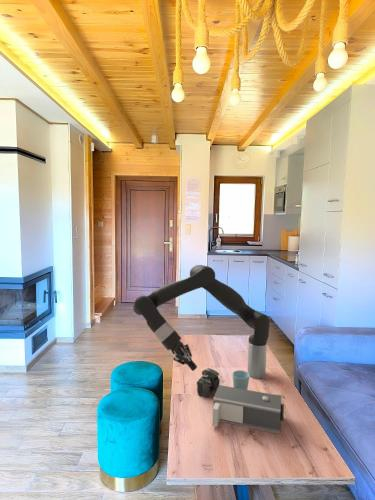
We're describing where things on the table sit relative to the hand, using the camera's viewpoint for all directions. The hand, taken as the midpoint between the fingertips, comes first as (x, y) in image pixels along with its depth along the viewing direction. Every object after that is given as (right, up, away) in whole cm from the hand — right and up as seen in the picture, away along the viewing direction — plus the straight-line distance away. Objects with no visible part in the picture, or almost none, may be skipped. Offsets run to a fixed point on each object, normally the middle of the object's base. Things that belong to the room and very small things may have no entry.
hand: (195, 368), depth 128 cm
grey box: (+21, -21, +2) cm, 30 cm away
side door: (+13, -20, -4) cm, 24 cm away
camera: (+7, -19, +22) cm, 30 cm away
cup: (+21, -19, +18) cm, 34 cm away
